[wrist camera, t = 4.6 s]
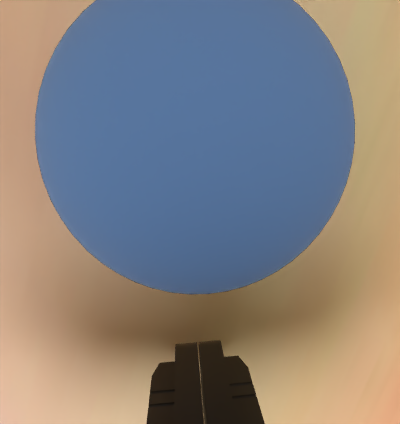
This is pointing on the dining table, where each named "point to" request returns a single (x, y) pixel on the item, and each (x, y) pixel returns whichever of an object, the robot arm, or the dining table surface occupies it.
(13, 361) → the dining table surface
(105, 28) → the ball
